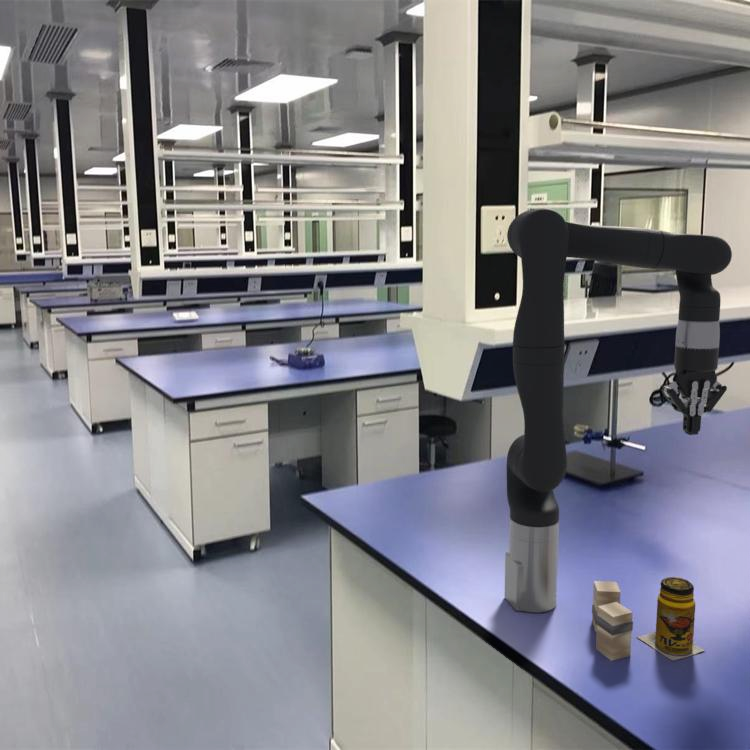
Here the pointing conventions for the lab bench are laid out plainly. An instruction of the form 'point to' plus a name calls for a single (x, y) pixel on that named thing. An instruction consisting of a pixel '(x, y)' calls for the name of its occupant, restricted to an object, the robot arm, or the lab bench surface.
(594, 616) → the banded post
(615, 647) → the banded post
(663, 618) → the condiment
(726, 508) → the lab bench surface
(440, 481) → the lab bench surface
